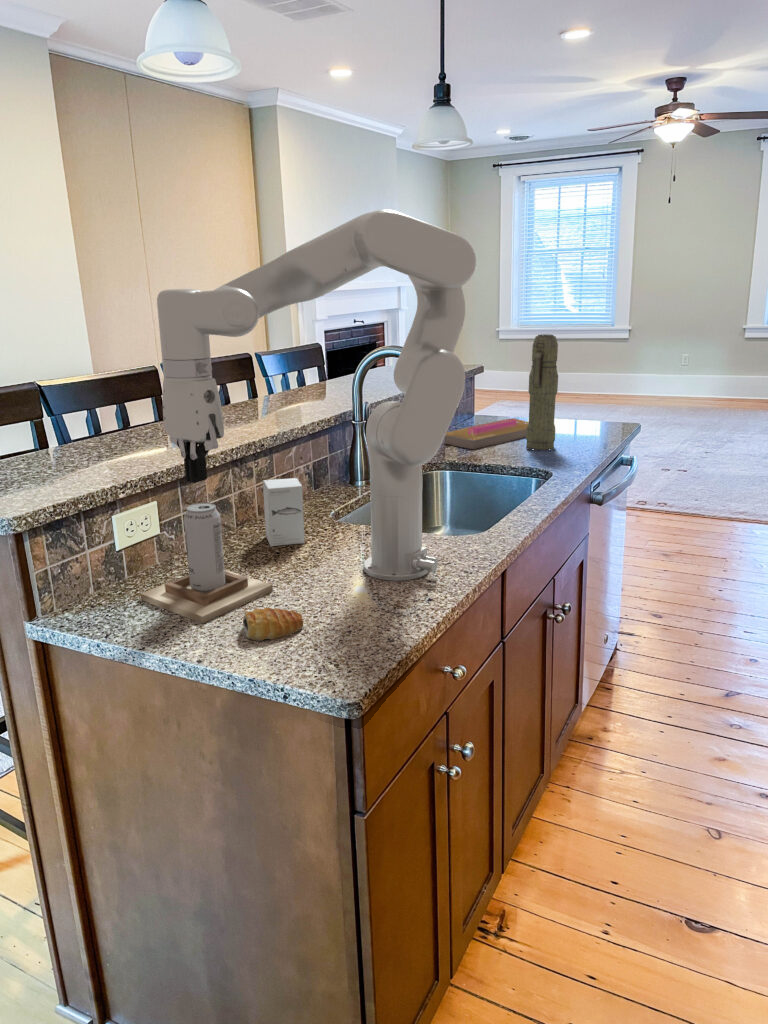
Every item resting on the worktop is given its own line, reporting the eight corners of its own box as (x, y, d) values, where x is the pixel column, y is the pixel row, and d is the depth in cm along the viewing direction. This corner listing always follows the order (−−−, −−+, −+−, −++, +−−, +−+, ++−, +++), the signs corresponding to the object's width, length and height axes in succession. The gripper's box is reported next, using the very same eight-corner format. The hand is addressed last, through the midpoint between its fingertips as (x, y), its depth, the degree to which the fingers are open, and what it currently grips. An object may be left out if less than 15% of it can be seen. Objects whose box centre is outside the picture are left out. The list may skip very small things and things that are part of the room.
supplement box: (269, 547, 156) (266, 488, 152) (265, 536, 163) (262, 479, 159) (305, 544, 158) (302, 485, 154) (299, 533, 165) (297, 476, 161)
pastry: (297, 618, 125) (296, 596, 123) (308, 635, 119) (307, 613, 117) (240, 627, 122) (238, 605, 120) (248, 646, 115) (246, 623, 114)
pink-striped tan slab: (509, 429, 272) (509, 412, 270) (541, 435, 261) (542, 418, 259) (440, 444, 250) (440, 426, 248) (473, 451, 239) (473, 432, 237)
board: (272, 590, 135) (271, 576, 134) (202, 623, 123) (201, 608, 122) (212, 571, 144) (210, 558, 143) (141, 599, 132) (139, 585, 131)
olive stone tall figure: (520, 450, 238) (525, 336, 227) (531, 443, 248) (536, 333, 238) (548, 453, 234) (555, 336, 224) (558, 445, 244) (564, 333, 234)
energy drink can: (193, 582, 136) (186, 502, 131) (227, 581, 136) (221, 501, 131) (187, 596, 130) (179, 512, 125) (223, 595, 130) (216, 511, 126)
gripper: (237, 370, 120) (244, 482, 126) (176, 364, 129) (185, 469, 134) (200, 375, 114) (209, 492, 120) (138, 368, 123) (149, 478, 128)
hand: (196, 480), depth 127 cm, fingers closed
